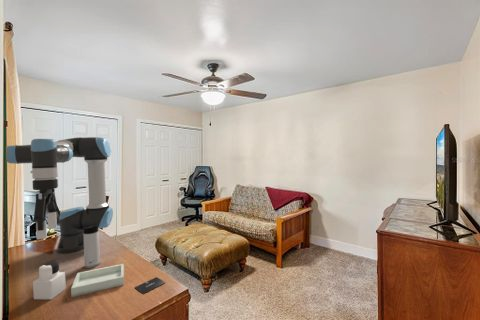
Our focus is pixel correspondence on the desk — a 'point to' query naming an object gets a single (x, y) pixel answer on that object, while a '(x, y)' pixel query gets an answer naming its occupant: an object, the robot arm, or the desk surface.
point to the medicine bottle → (49, 281)
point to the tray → (98, 280)
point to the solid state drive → (149, 285)
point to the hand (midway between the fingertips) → (47, 233)
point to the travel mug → (91, 246)
